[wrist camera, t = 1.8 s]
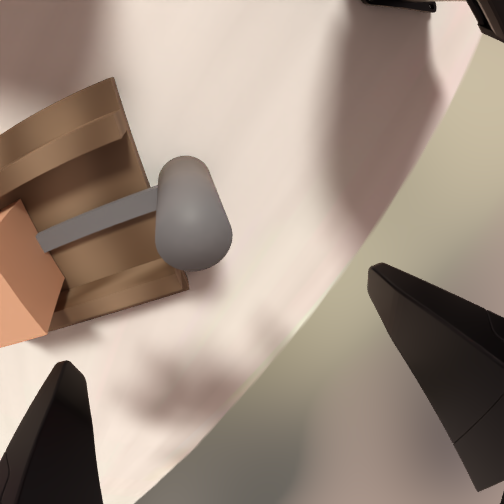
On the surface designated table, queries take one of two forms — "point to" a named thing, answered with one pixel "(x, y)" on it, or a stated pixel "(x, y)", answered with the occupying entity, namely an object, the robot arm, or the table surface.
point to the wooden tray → (87, 202)
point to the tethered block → (155, 198)
